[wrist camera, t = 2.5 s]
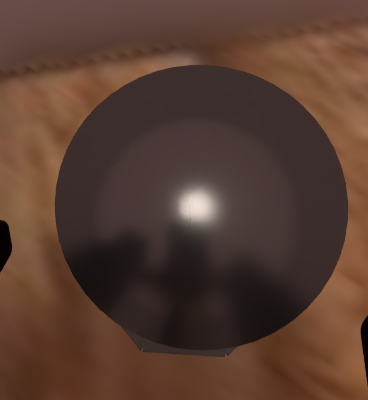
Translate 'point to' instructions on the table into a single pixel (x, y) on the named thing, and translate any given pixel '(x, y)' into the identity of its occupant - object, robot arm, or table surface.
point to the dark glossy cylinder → (201, 207)
